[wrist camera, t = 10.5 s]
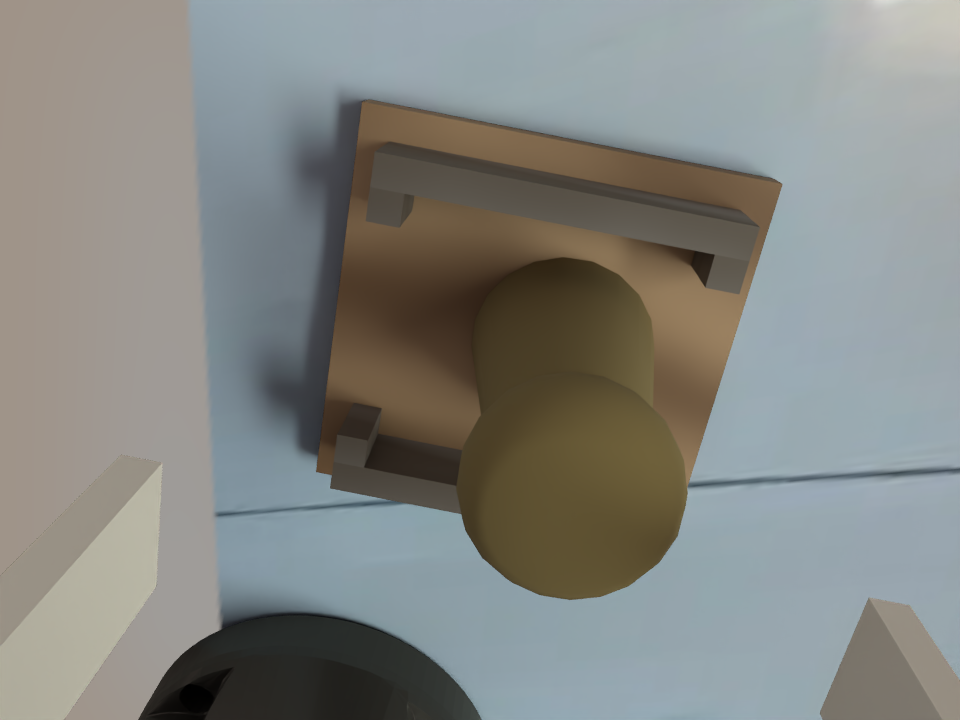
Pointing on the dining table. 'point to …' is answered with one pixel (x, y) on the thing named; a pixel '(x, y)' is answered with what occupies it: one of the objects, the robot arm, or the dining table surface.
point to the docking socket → (500, 251)
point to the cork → (568, 435)
